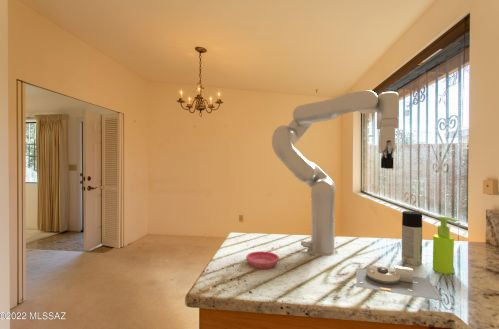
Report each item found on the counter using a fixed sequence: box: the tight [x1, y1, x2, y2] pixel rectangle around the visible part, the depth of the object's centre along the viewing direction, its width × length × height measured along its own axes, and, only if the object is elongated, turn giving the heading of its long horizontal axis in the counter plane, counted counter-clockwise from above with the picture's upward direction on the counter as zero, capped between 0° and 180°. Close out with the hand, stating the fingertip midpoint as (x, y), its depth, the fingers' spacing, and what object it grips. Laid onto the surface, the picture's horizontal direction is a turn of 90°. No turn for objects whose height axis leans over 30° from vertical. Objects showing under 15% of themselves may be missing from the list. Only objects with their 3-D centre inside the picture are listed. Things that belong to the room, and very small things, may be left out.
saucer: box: [245, 250, 280, 270], centre depth 103 cm, size 12×12×3 cm
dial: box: [365, 265, 414, 285], centre depth 88 cm, size 14×10×4 cm
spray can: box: [401, 210, 423, 266], centre depth 104 cm, size 7×7×20 cm
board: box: [355, 268, 443, 301], centre depth 86 cm, size 22×17×1 cm
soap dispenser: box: [432, 216, 459, 275], centre depth 95 cm, size 6×7×20 cm
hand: (386, 168), depth 106 cm, fingers open, 9 cm apart
